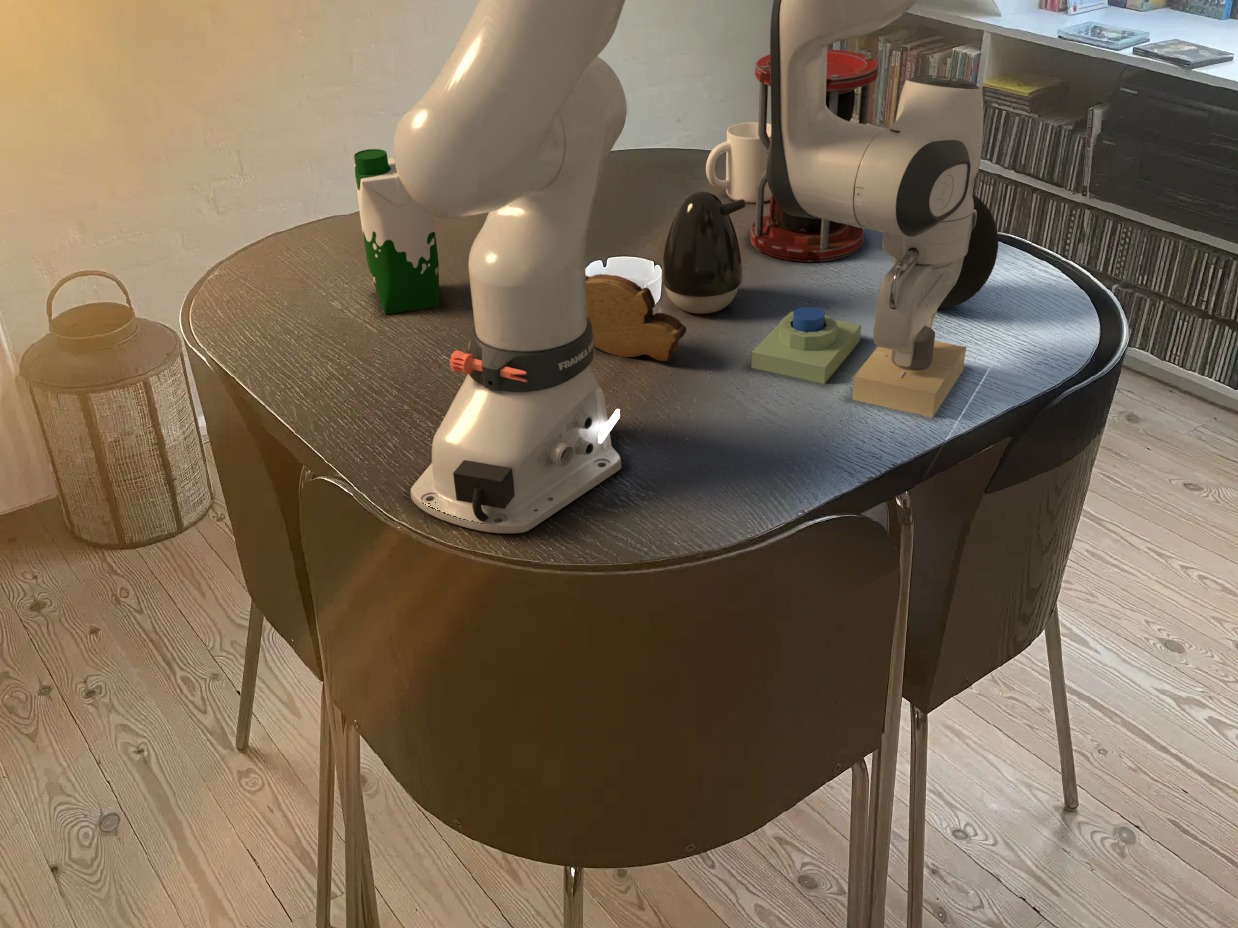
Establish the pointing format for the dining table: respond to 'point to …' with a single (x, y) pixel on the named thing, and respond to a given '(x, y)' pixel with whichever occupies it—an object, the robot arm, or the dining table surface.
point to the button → (808, 319)
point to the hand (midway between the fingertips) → (912, 352)
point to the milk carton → (396, 236)
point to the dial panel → (909, 380)
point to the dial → (921, 350)
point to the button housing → (806, 349)
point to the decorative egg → (976, 258)
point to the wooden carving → (629, 319)
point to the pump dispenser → (702, 254)
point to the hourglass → (777, 229)
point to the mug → (741, 162)
